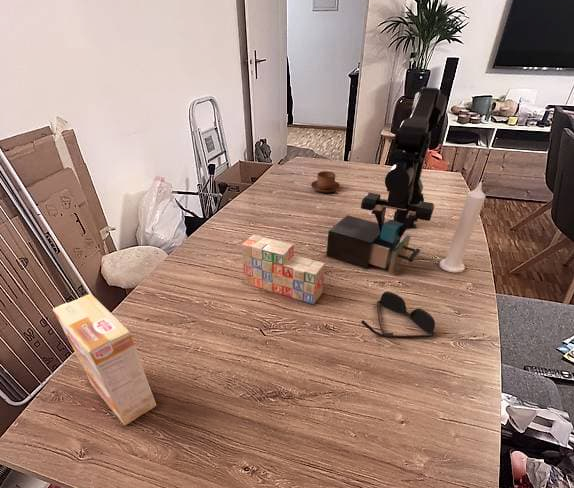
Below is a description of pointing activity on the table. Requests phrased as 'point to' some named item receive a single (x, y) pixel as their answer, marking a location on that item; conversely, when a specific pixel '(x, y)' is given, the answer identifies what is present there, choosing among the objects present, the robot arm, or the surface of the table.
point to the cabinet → (352, 240)
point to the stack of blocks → (281, 269)
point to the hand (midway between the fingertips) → (391, 235)
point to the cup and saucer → (325, 182)
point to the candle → (464, 231)
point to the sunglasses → (398, 305)
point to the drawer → (391, 253)
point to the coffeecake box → (107, 356)
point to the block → (391, 231)
